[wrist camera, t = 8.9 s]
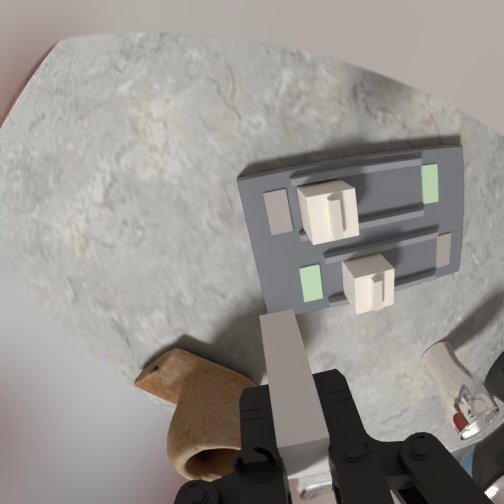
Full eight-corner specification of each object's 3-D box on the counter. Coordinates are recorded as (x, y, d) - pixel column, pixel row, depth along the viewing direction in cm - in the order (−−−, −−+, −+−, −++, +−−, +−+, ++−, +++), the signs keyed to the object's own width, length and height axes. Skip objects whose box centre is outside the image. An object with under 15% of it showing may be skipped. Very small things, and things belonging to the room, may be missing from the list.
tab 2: (377, 250, 30) (398, 272, 25) (378, 284, 31) (396, 308, 27) (341, 259, 30) (357, 283, 25) (343, 292, 31) (358, 319, 27)
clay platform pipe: (277, 370, 39) (292, 469, 25) (227, 414, 42) (228, 501, 28) (174, 318, 34) (147, 425, 21) (135, 373, 38) (109, 464, 24)
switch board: (451, 144, 27) (468, 148, 25) (450, 263, 33) (463, 274, 31) (236, 177, 28) (236, 183, 26) (267, 310, 34) (269, 326, 32)
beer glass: (408, 367, 40) (450, 441, 27) (438, 333, 38) (490, 404, 24) (432, 375, 42) (471, 441, 28) (459, 344, 40) (506, 407, 26)
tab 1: (339, 178, 27) (358, 190, 22) (344, 219, 28) (362, 238, 24) (296, 186, 27) (308, 200, 22) (303, 228, 28) (315, 249, 24)
